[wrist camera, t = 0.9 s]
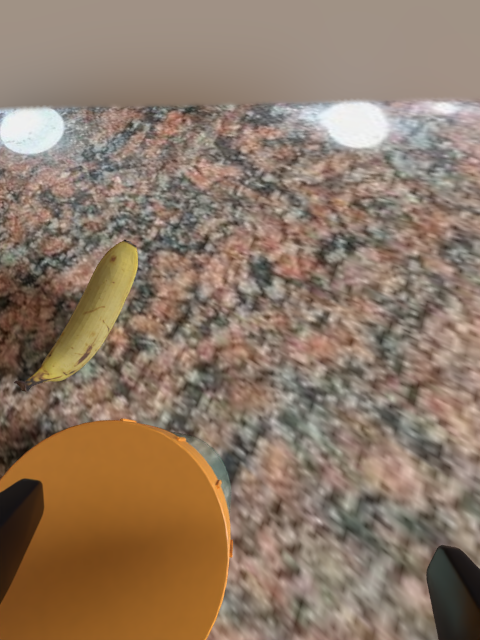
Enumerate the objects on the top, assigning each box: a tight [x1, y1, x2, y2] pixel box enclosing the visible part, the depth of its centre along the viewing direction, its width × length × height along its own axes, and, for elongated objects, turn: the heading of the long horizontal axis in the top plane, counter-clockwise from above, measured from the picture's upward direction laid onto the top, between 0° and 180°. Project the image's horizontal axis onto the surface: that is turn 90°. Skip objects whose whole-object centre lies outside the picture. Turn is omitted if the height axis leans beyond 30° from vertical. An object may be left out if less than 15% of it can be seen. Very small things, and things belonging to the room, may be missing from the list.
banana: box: [14, 240, 138, 392], centre depth 24 cm, size 10×2×4 cm, turn 149°
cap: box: [0, 419, 233, 640], centre depth 12 cm, size 7×7×2 cm
